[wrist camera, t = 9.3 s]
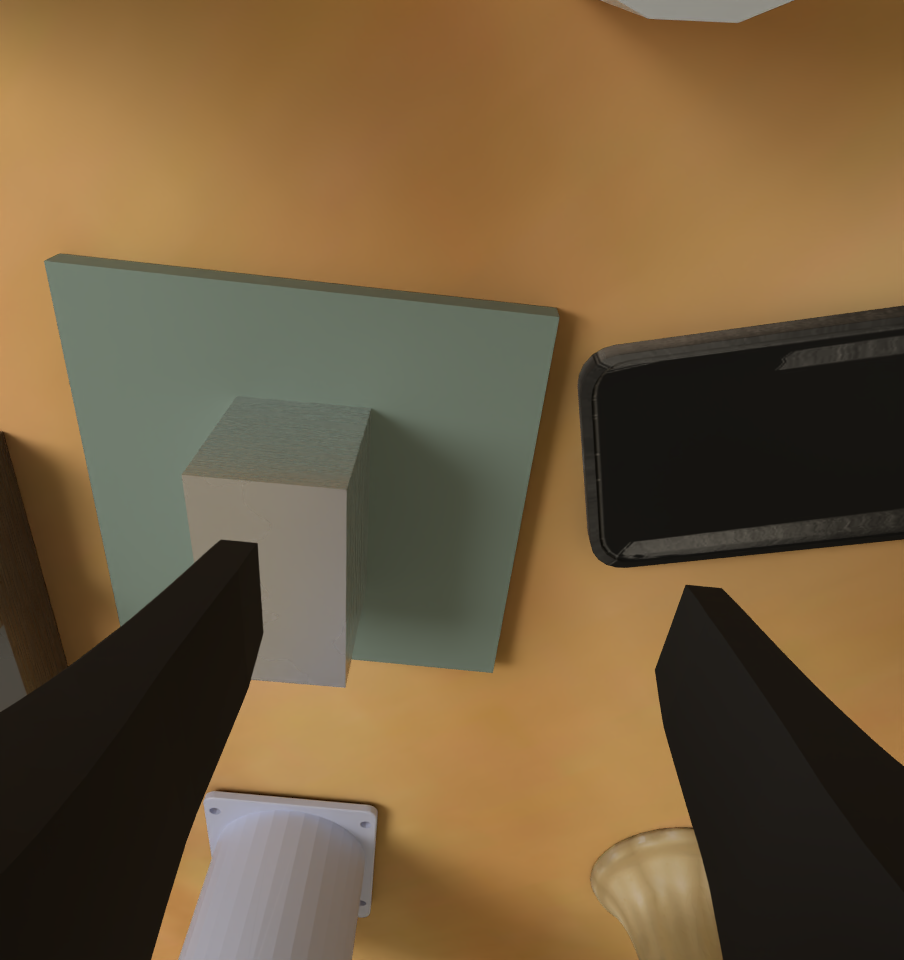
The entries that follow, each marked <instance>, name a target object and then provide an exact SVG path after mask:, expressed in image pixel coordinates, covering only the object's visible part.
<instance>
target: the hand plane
mask: <svg viewBox="0 0 904 960" xmlns="http://www.w3.org/2000/svg"><path fill="white" fill-rule="evenodd" d="M67 667H68V666H67V662H66V659H65V655H64V652H63V648H62V644H61V641H60V637H59V633H58V630H57V626H56V623H55V619H54V615H53V612H52V608H51V604H50V601H49V597H48V593H47V590H46V586H45V583H44V579H43V575H42V572H41V568H40V564H39V561H38V557H37V554H36V550H35V546H34V543H33V539H32V535H31V532H30V528H29V525H28V521H27V517H26V514H25V510H24V506H23V503H22V499H21V496H20V492H19V488H18V485H17V481H16V477H15V474H14V470H13V467H12V463H11V459H10V456H9V452H8V448H7V445H6V441H5V438H4V434H3V432H0V712H1V711H3V710H4V709H6V708H8V707H9V706H11V705H12V704H14V703H16V702H17V701H19V700H20V699H22V698H23V697H25V696H26V695H28V694H29V693H31V692H32V691H34V690H35V689H37V688H39V687H40V686H42V685H43V684H44V683H46V682H47V681H49V680H50V679H52V678H53V677H55V676H56V675H57V674H59V673H60V672H62V671H63V670H64V669H66V668H67Z"/></svg>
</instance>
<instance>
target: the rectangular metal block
mask: <svg viewBox="0 0 904 960" xmlns="http://www.w3.org/2000/svg"><path fill="white" fill-rule="evenodd" d="M370 431H371V408H363V407H352V406H341V405H330V404H319V403H308V402H297V401H286V400H275V399H265V398H254V397H243V396H236V398H235V399H234V401H233V402H232V403H231V405H230V406H229V408H228V409H227V411H226V412H225V413H224V415H223V416H222V418H221V419H220V421H219V422H218V423H217V425H216V426H215V428H214V429H213V431H212V432H211V433H210V435H209V436H208V438H207V439H206V441H205V442H204V443H203V445H202V446H201V448H200V449H199V451H198V452H197V453H196V455H195V456H194V458H193V459H192V461H191V462H190V463H189V465H188V466H187V468H186V469H185V471H184V472H183V473H182V482H183V489H184V496H185V503H186V510H187V517H188V524H189V531H190V538H191V545H192V552H193V559H194V563H195V562H196V561H197V560H198V559H199V558H200V557H201V556H202V555H203V554H204V553H206V552H207V551H208V550H209V549H210V548H211V547H212V546H213V545H215V544H216V543H217V542H218V541H220V540H221V539H222V540H232V541H243V542H253V543H258V556H259V571H260V586H261V601H262V616H263V631H264V633H263V637H262V641H261V645H260V648H259V652H258V656H257V660H256V663H255V667H254V670H253V674H252V677H251V680H262V681H273V682H285V683H297V684H309V685H320V686H332V687H344V688H345V687H346V683H347V678H348V673H349V668H350V663H351V659H352V654H353V649H354V644H355V640H356V635H357V630H358V625H359V620H360V616H361V611H362V606H363V601H364V597H365V592H366V584H367V546H368V508H369V470H370Z"/></svg>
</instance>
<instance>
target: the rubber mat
mask: <svg viewBox="0 0 904 960" xmlns="http://www.w3.org/2000/svg"><path fill="white" fill-rule="evenodd" d="M44 263H45V268H46V272H47V277H48V282H49V287H50V292H51V296H52V301H53V306H54V311H55V316H56V320H57V325H58V330H59V335H60V339H61V344H62V349H63V354H64V359H65V363H66V368H67V373H68V378H69V382H70V387H71V392H72V397H73V402H74V406H75V411H76V416H77V421H78V425H79V430H80V435H81V440H82V445H83V449H84V454H85V459H86V464H87V469H88V473H89V478H90V483H91V488H92V492H93V497H94V502H95V507H96V512H97V516H98V521H99V526H100V531H101V535H102V540H103V545H104V550H105V555H106V559H107V564H108V569H109V574H110V579H111V583H112V588H113V593H114V598H115V602H116V607H117V612H118V617H119V622H120V626H122V625H123V624H124V623H126V622H127V621H128V620H129V619H131V618H132V617H133V616H134V615H135V614H136V613H138V612H139V611H140V610H141V609H142V608H143V607H145V606H146V605H147V604H148V603H149V602H151V601H152V600H153V599H154V598H155V597H156V596H158V595H159V594H160V593H161V592H162V591H163V590H164V589H166V588H167V587H168V586H169V585H170V584H171V583H172V582H173V581H175V580H176V579H177V578H178V577H179V576H180V575H181V574H182V573H184V572H185V571H186V570H187V569H188V568H189V567H190V566H191V565H192V564H193V563H194V559H193V552H192V545H191V538H190V531H189V524H188V517H187V510H186V503H185V496H184V489H183V482H182V473H183V472H184V471H185V469H186V468H187V466H188V465H189V463H190V462H191V461H192V459H193V458H194V456H195V455H196V453H197V452H198V451H199V449H200V448H201V446H202V445H203V443H204V442H205V441H206V439H207V438H208V436H209V435H210V433H211V432H212V431H213V429H214V428H215V426H216V425H217V423H218V422H219V421H220V419H221V418H222V416H223V415H224V413H225V412H226V411H227V409H228V408H229V406H230V405H231V403H232V402H233V401H234V399H235V398H236V396H243V397H254V398H265V399H275V400H286V401H297V402H308V403H319V404H330V405H341V406H352V407H363V408H371V431H370V470H369V508H368V546H367V584H366V592H365V597H364V601H363V606H362V611H361V616H360V620H359V625H358V630H357V635H356V640H355V644H354V649H353V654H352V659H354V660H364V661H374V662H385V663H395V664H406V665H416V666H427V667H437V668H448V669H458V670H468V671H479V672H489V673H493V669H494V663H495V658H496V653H497V647H498V642H499V637H500V631H501V626H502V621H503V615H504V610H505V605H506V599H507V594H508V589H509V583H510V578H511V573H512V567H513V562H514V557H515V551H516V546H517V541H518V535H519V530H520V525H521V519H522V514H523V509H524V503H525V498H526V493H527V487H528V482H529V477H530V471H531V466H532V461H533V456H534V450H535V445H536V440H537V434H538V429H539V424H540V418H541V413H542V408H543V402H544V397H545V392H546V386H547V381H548V376H549V370H550V365H551V360H552V354H553V349H554V344H555V338H556V333H557V328H558V322H559V314H558V311H557V308H553V307H544V306H535V305H526V304H517V303H507V302H498V301H489V300H480V299H471V298H462V297H453V296H443V295H434V294H425V293H416V292H407V291H398V290H388V289H379V288H370V287H361V286H352V285H343V284H334V283H324V282H315V281H306V280H297V279H288V278H279V277H269V276H260V275H251V274H242V273H233V272H224V271H215V270H205V269H196V268H187V267H178V266H169V265H160V264H150V263H141V262H132V261H123V260H114V259H105V258H96V257H86V256H77V255H68V254H57V255H55V256H53V257H51V258H49V259H47V260H45V261H44Z"/></svg>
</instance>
